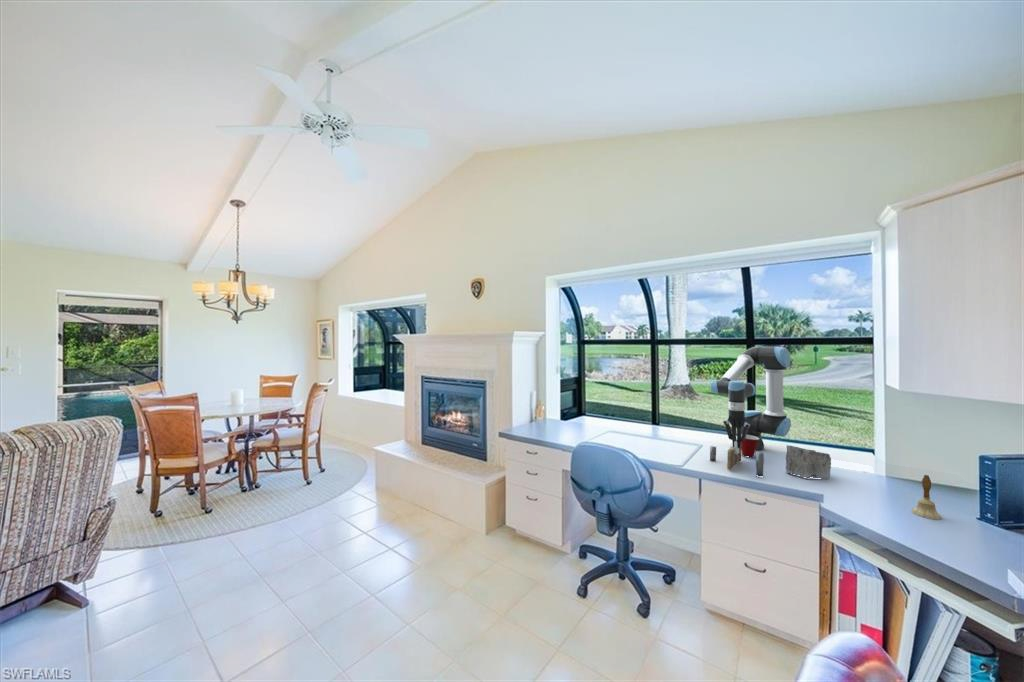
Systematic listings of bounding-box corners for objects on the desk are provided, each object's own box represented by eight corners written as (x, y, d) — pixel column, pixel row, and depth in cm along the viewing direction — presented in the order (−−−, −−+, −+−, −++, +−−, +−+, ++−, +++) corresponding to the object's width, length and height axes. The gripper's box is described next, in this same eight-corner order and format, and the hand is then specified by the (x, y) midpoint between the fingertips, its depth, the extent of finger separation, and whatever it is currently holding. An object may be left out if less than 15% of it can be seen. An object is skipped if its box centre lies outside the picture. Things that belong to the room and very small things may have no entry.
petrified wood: (828, 473, 200) (829, 444, 200) (833, 484, 185) (834, 453, 185) (784, 466, 210) (785, 439, 210) (785, 476, 196) (786, 447, 195)
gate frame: (707, 458, 222) (708, 438, 222) (739, 460, 220) (740, 439, 220) (728, 476, 195) (728, 452, 195) (764, 477, 193) (764, 454, 193)
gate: (737, 460, 217) (738, 442, 217) (740, 461, 216) (740, 443, 216) (727, 469, 203) (727, 450, 203) (730, 469, 202) (730, 450, 202)
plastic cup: (763, 459, 222) (763, 438, 222) (744, 458, 222) (744, 438, 222) (752, 453, 233) (752, 433, 233) (734, 453, 233) (734, 433, 233)
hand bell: (933, 520, 149) (934, 480, 149) (906, 511, 157) (907, 472, 157) (946, 518, 152) (948, 478, 151) (919, 508, 160) (920, 470, 159)
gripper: (720, 408, 210) (721, 451, 210) (746, 412, 200) (746, 457, 200) (726, 407, 215) (727, 449, 215) (752, 410, 205) (752, 454, 205)
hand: (736, 453), depth 207 cm, fingers closed
